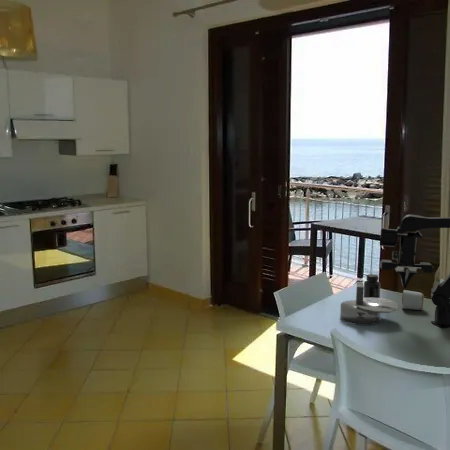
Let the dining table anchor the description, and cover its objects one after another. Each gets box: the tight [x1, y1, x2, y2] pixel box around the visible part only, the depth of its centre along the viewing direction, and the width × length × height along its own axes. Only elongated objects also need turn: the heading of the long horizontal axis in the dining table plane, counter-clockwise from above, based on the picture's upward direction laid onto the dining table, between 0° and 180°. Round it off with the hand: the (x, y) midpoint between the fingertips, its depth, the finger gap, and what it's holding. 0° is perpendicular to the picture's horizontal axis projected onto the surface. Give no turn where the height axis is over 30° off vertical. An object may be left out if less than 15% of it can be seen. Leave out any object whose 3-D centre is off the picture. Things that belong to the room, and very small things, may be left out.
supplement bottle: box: [363, 273, 381, 298], centre depth 220 cm, size 7×7×12 cm
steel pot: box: [339, 299, 381, 326], centre depth 200 cm, size 15×25×5 cm, turn 167°
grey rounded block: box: [401, 289, 425, 311], centre depth 214 cm, size 11×8×8 cm
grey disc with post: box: [355, 281, 399, 314], centre depth 198 cm, size 16×16×8 cm
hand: (404, 288), depth 196 cm, fingers closed
